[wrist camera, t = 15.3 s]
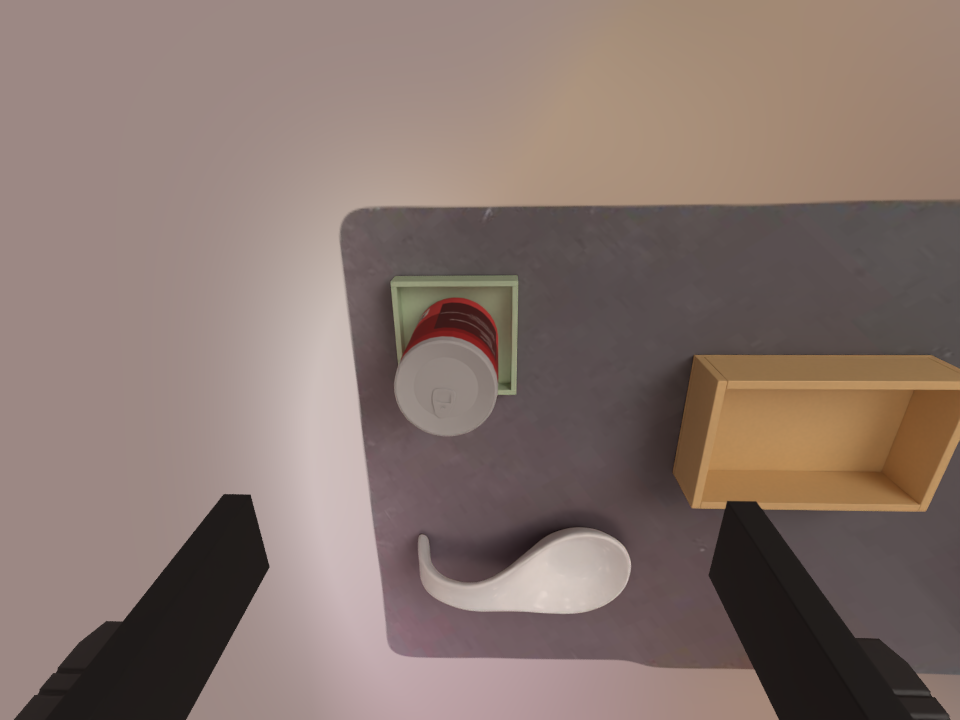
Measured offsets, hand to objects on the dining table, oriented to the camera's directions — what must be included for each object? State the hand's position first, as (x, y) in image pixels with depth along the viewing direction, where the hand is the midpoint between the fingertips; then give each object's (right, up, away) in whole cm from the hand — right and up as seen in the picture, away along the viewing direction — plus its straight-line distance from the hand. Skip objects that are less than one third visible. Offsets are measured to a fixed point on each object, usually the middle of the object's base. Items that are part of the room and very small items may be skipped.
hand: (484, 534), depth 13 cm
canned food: (-2, +7, +31) cm, 32 cm away
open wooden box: (+31, -1, +34) cm, 46 cm away
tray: (-2, +7, +31) cm, 32 cm away
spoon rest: (+5, -17, +42) cm, 46 cm away
